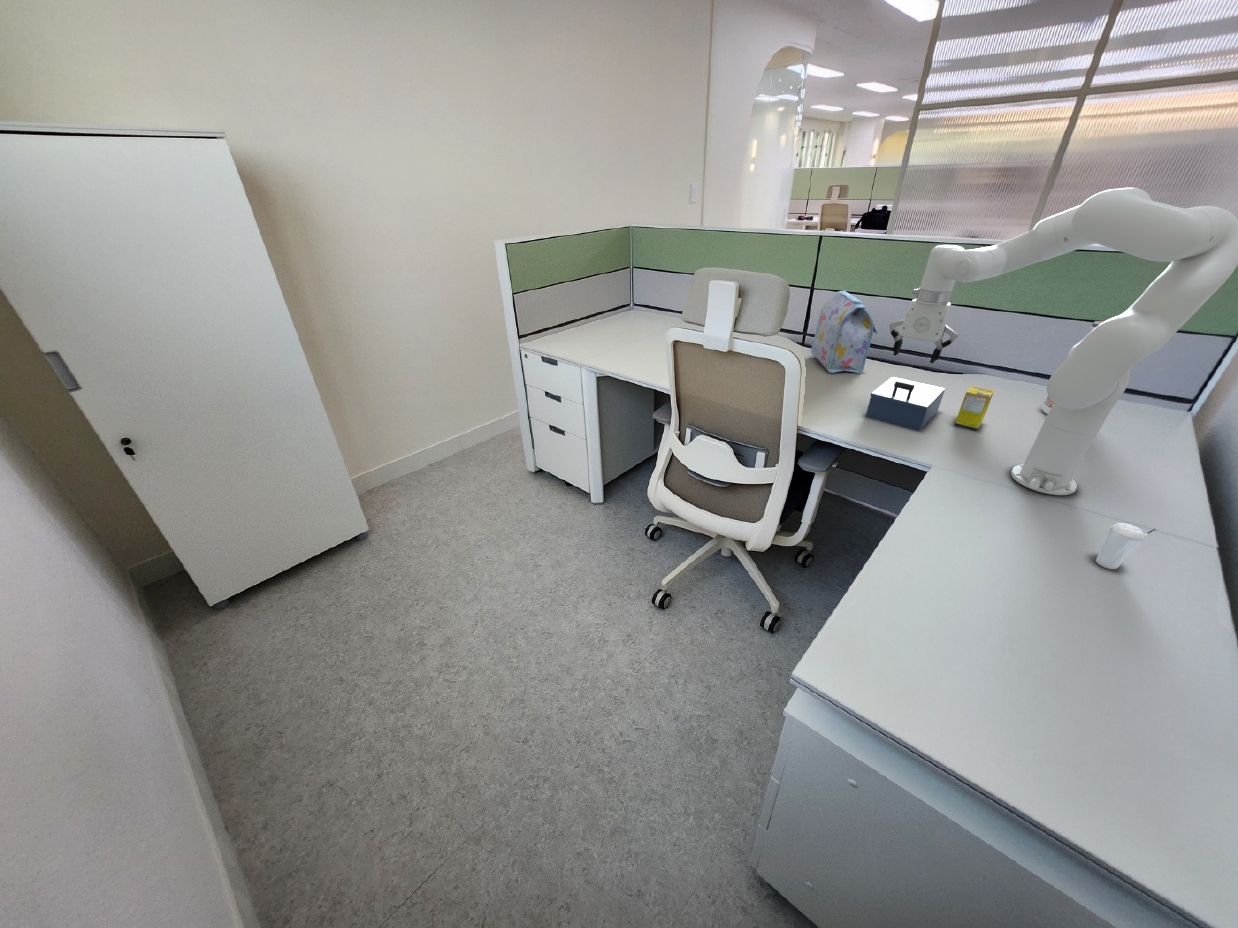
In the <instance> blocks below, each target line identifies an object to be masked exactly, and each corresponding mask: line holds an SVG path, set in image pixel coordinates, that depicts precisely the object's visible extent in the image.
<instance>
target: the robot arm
mask: <svg viewBox="0 0 1238 928" xmlns="http://www.w3.org/2000/svg"><path fill="white" fill-rule="evenodd" d="M1096 244H1097V245H1100V246H1102V247H1106V248H1109V249H1112V250H1115V251H1117V252H1121V253H1124V254H1128V255H1130V256H1133V257H1137V258H1140V259H1143V260H1146V261H1151V262H1159V263H1167V262H1169V264H1168V266H1167V268H1165V270H1163V271H1162V272H1161V274H1159V275H1158V276H1157V277H1156V278H1155V279H1154V280H1153V281H1152V282H1151V283H1150V284H1149V285H1148V287H1146V289H1145V290H1144V291H1143V293H1142V294H1141V295H1140V296H1139V297H1138V298H1137V299H1136V300H1135V301H1134V302H1133V303H1132V304H1131V305H1130V306H1129V307H1128V308H1127V309H1126V310H1125V311H1123V312H1122V313H1121V314H1118V315H1115V316H1113V317H1111V318H1108V319H1106V320H1105V321H1102V322H1103V323H1101V324H1099V325H1098V326H1097V327H1095V328H1094V329H1093V330H1092V331H1091V330H1090V331H1091V332H1090V331H1089V332H1090V333H1089V332H1088V333H1089V334H1088V333H1087V334H1088V335H1087V334H1086V335H1087V336H1086V335H1085V336H1086V337H1085V336H1084V337H1085V338H1084V337H1083V338H1084V339H1083V338H1082V339H1083V340H1082V339H1081V340H1082V341H1081V340H1080V341H1081V342H1080V341H1079V342H1080V344H1079V345H1078V346H1077V347H1076V348H1075V349H1074V350H1073V352H1072V353H1071V354H1070V355H1069V356H1067V357H1066V358H1065V360H1064V361H1062V363H1061V364H1060V365H1059V366H1058V367H1057V368H1056V370H1054V372H1053V373H1052V375H1051V376H1050V378H1049V379H1048V381H1047V385H1046V394H1047V397H1048V396H1049V398H1050V400H1051V401H1052V402H1053V403H1054V404H1053V405H1052V407H1051V409H1050V411H1049V413H1048V414H1046V417H1045V419H1044V420H1043V422H1042V425H1041V427H1040V429H1039V431H1038V433H1037V435H1036V437H1035V439H1034V442H1033V443H1032V445H1031V447H1030V449H1029V451H1028V454H1027V456H1026V458H1025V460H1024V462H1023V463H1022V464H1018V465H1015V466H1014V467H1012V470H1011V472H1010V475H1011V477H1012V478H1013V480H1014V481H1016V482H1017V483H1018V484H1020V485H1022V486H1023V487H1026V488H1028V489H1030V490H1032V491H1035V492H1039V493H1042V494H1047V495H1052V496H1068V495H1072V494H1074V493H1075V492H1076V490H1077V489H1078V484H1077V482H1076V481H1075V480H1074V476H1075V474H1076V473H1077V471H1078V469H1079V467H1080V466H1081V464H1082V462H1083V460H1084V459H1085V457H1086V455H1087V453H1088V451H1089V450H1090V448H1091V446H1092V444H1093V442H1094V440H1095V439H1096V437H1097V435H1098V433H1099V432H1100V430H1101V429H1102V426H1103V424H1104V423H1105V422H1106V419H1107V418H1108V416H1109V415H1110V413H1111V411H1112V410H1113V409H1114V407H1115V405H1116V404H1117V402H1118V401H1119V399H1120V398H1121V396H1122V395H1123V394H1124V392H1125V391H1126V389H1127V387H1128V386H1129V383H1130V380H1131V371H1130V370H1132V368H1134V366H1136V365H1137V364H1138V363H1139V362H1140V361H1141V360H1142V359H1144V358H1147V357H1148V356H1151V355H1153V354H1155V353H1156V352H1158V351H1159V350H1161V349H1162V348H1163V347H1164V346H1165V345H1166V344H1167V343H1168V342H1169V340H1171V338H1172V337H1173V336H1174V335H1175V334H1176V333H1177V332H1178V331H1179V330H1180V329H1181V328H1182V327H1183V326H1184V325H1185V324H1186V323H1187V322H1188V321H1189V320H1190V319H1191V318H1192V317H1193V316H1194V315H1195V314H1196V313H1197V312H1198V311H1199V310H1200V309H1201V308H1202V306H1203V305H1204V304H1205V303H1206V302H1207V301H1209V299H1210V298H1211V297H1212V296H1213V295H1214V294H1215V293H1216V292H1217V291H1218V290H1219V289H1220V288H1221V287H1222V286H1223V285H1224V284H1225V282H1227V280H1228V279H1229V278H1230V277H1231V276H1232V274H1233V273H1234V271H1235V270H1236V269H1237V267H1238V217H1237V216H1236V215H1235V214H1233V213H1232V212H1231V211H1230V210H1228V209H1225V208H1223V207H1220V206H1215V205H1199V206H1191V207H1188V208H1186V207H1181V206H1176V205H1172V204H1168V203H1163V202H1159V201H1156V200H1153V199H1152V197H1151V196H1150V194H1149V193H1148V192H1147V191H1145V190H1144V189H1141V188H1138V187H1122V188H1121V187H1120V188H1111V189H1107V190H1106V189H1105V190H1103V191H1100V192H1097V193H1095V194H1093V195H1092V196H1090V197H1089V198H1087V199H1085V200H1084V201H1083V202H1082V203H1081V204H1080V205H1077V206H1074V207H1072V208H1069V209H1067V210H1064V211H1062V212H1059V213H1056V214H1053V215H1051V216H1049V217H1046V218H1044V219H1041V220H1039V221H1038V222H1037V223H1036V224H1035V225H1034V227H1033V228H1032V229H1030V230H1028V231H1025V233H1022V234H1020V235H1017V236H1015V237H1013V238H1010V239H1007V240H1005V241H1002V242H999V243H997V244H996V243H995V244H994V245H990V246H985V247H984V246H983V247H977V248H973V249H965V248H964V247H962V246H960V245H953V244H941V245H940V244H939V245H936V246H934V247H933V248H931V251H930V253H929V256H928V259H927V263H926V266H925V269H924V272H923V276H922V279H921V283H920V286H919V288H913V290H912V292H911V294H912V295H914V296H915V298H914V299H912V300H911V302H910V304H909V306H908V309H907V311H906V313H905V316H904V319H901V320H896V321H893V322H891V323H889V325H888V327H889V330H890V335H891V336H892V338H893V341H894V344H893V348H892V352H893V354H892V356H897V355H899V354H900V352H901V349H902V346H903V342H904V340H903V338H906V339H912V340H917V341H922V342H928V343H934V346H935V348H934V349H933V352H932V355H931V357H930V360H929V363H930V364H934V363H935V362H936V361H938V360H939V359H940V356H941V354H942V350H943V349H944V348H946V347H948V346H950V345H951V344H952V343H954V341H955V340H957V339H958V338H959V337H960V334H959V333H958V332H956V331H955V330H954V329H953V328H951V327H950V326H948V321H949V317H950V313H951V306H952V303H951V302H949V301H950V300H951V295H952V293H953V290H954V287H955V284H956V282H959V283H965V284H967V283H968V284H969V283H973V282H979V281H981V280H987V279H993V278H995V277H999V276H1001V275H1004V274H1007V273H1010V272H1013V271H1016V270H1019V269H1022V268H1026V267H1028V266H1031V265H1034V264H1036V263H1039V262H1045V261H1048V260H1050V259H1053V258H1057V257H1060V256H1062V255H1066V254H1068V253H1071V252H1073V251H1077V250H1080V249H1083V248H1086V247H1089V246H1092V245H1096ZM899 326H900V330H899V331H898V330H897V327H899ZM945 334H947V336H949V339H947V340H945V341H944V340H943V337H944V335H945Z"/></svg>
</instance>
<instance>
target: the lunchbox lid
mask: <svg viewBox="0 0 1238 928" xmlns="http://www.w3.org/2000/svg"><path fill="white" fill-rule="evenodd" d="M945 391H946V388H945V387H941V386H936V385H933V384H932V385H931V384H926V383H922V382H919V381H913V380H909V379H905V378H901V377H900V378H899V377H895V376H891V377H890V378H888V379H887V380H886V381H885V382H883V383H882V384H881V385H879V386H878V387H877V388H875V390H873V391H872V392H870V397H871V396H874V397H878V398H882V399H886V400H890V401H894V402H898V403H902V404H906V405H910V406H914V407H918V408H922V409H927V408H928V407H929V406H930V405H931V404H932V403H933V402H934V401H935V400H936V399H937V398H938V397H939V396H940V395H941V394H942V393H943V392H944V393H945Z"/></svg>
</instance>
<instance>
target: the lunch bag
mask: <svg viewBox="0 0 1238 928" xmlns="http://www.w3.org/2000/svg"><path fill="white" fill-rule="evenodd" d="M874 333H875V334H876V335H877V334H878V333H879V332H878V329H877V328H876V325H875V323H874V320H873V317H872V315H871V313H870V312H869V310H868V308H867V307H866V306H865V305H864V304H863V301H862V300H860V299H858V298H857V297H856V296H854V295H851V294H850V293H849V292H847V290H839V291H836V292H835V294H834V295H833V296H832V297H831V298H829V299H828V300H827V302H825V303H824V305H823V306H822V307H821V309H820V312H819V315H818V319H817V326H816V329H815V334H814V338H813V341H812V345H811V349H810V354H811V355H813V357H815V359H816V360H818V362H820V364H821V365H822V366H823V367H824V368H825V369H826V371H827V372H828V373H829V374H835V373H840V372H852V373H856V374H862V373H863V371H864V368H865V365H866V362H867V357H868V353H869V350H870V346H871V343H872V339H873V334H874Z"/></svg>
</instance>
